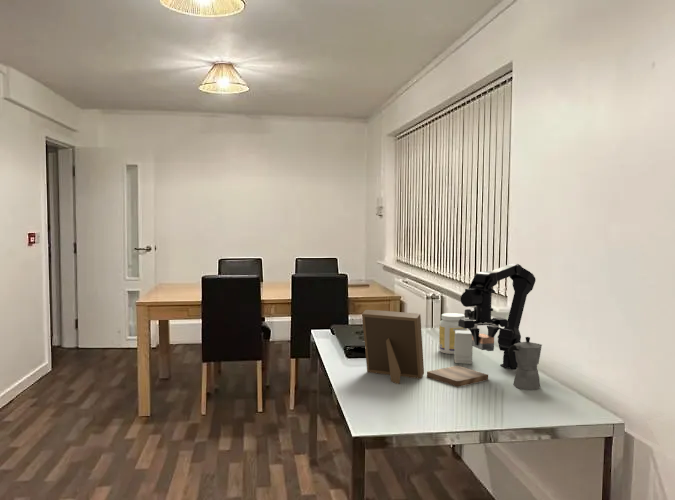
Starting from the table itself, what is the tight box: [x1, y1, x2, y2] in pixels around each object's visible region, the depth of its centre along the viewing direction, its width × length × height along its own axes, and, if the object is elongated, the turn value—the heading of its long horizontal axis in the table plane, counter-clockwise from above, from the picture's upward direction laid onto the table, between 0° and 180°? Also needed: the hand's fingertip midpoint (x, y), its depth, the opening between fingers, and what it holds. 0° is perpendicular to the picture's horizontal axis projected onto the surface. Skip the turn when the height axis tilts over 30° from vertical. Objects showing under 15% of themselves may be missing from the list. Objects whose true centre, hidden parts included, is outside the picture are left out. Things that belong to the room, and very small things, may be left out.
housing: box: [472, 333, 495, 352], centre depth 224 cm, size 5×10×5 cm, turn 16°
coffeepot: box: [508, 336, 543, 391], centre depth 208 cm, size 15×9×18 cm, turn 116°
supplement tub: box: [438, 312, 468, 355], centre depth 262 cm, size 12×12×17 cm
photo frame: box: [361, 309, 425, 385], centre depth 220 cm, size 15×22×25 cm
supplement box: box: [453, 330, 474, 365], centre depth 245 cm, size 7×7×13 cm
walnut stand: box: [426, 365, 489, 388], centre depth 219 cm, size 16×16×2 cm
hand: (482, 345), depth 225 cm, fingers closed on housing, 5 cm apart
